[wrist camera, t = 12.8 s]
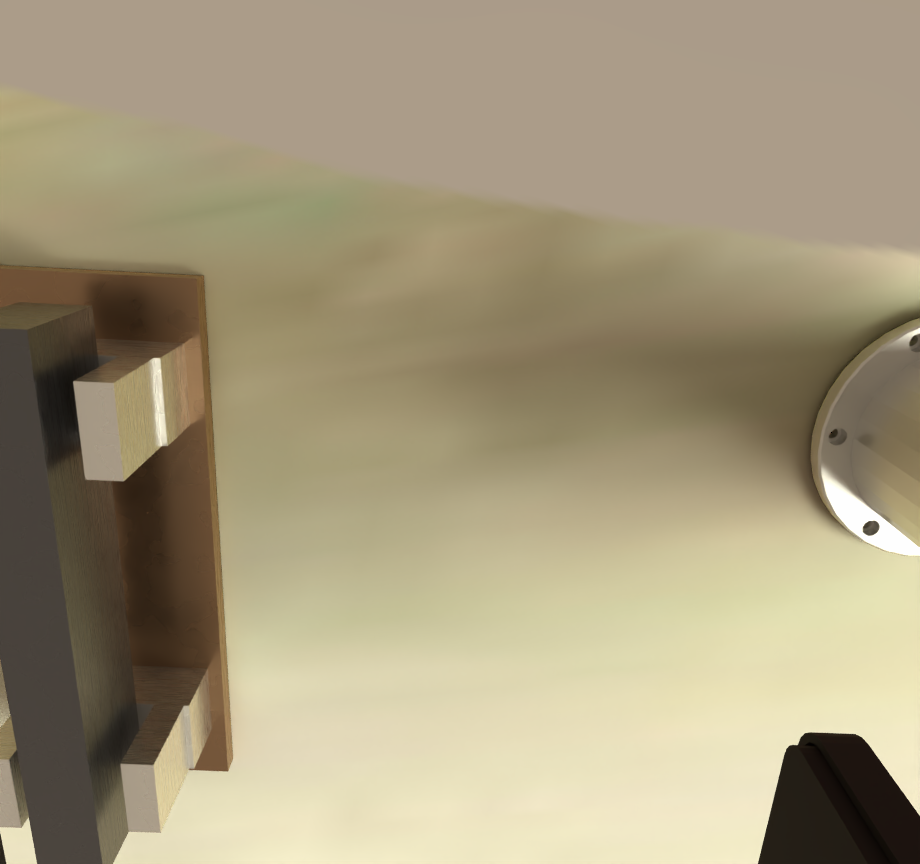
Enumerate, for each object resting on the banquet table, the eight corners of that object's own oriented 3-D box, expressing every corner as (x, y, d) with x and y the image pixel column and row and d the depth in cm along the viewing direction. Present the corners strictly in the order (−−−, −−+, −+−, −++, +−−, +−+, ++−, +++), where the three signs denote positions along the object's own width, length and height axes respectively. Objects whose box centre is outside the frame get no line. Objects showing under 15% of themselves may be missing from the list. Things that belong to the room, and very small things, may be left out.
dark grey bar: (92, 305, 31) (26, 329, 26) (146, 795, 40) (104, 879, 35) (19, 302, 31) (-60, 325, 26) (89, 793, 39) (39, 877, 35)
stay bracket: (203, 275, 35) (132, 304, 27) (233, 758, 44) (186, 880, 36) (-15, 264, 34) (-148, 290, 27) (60, 751, 44) (-22, 873, 36)
